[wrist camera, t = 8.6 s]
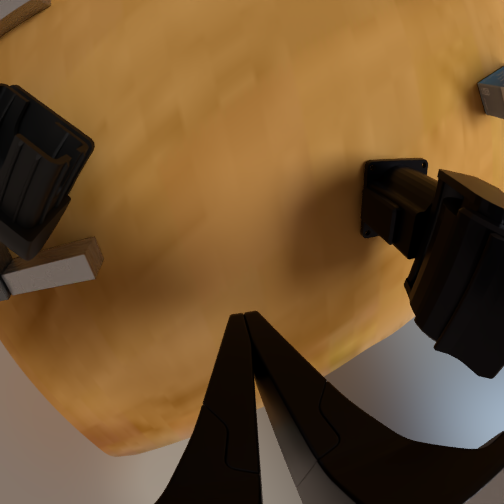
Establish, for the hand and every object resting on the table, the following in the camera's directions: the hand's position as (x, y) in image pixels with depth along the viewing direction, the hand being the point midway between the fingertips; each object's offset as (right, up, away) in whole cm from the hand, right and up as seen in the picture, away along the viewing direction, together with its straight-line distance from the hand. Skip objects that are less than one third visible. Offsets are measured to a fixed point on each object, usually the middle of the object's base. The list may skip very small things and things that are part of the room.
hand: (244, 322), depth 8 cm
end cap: (-15, +9, +5) cm, 18 cm away
